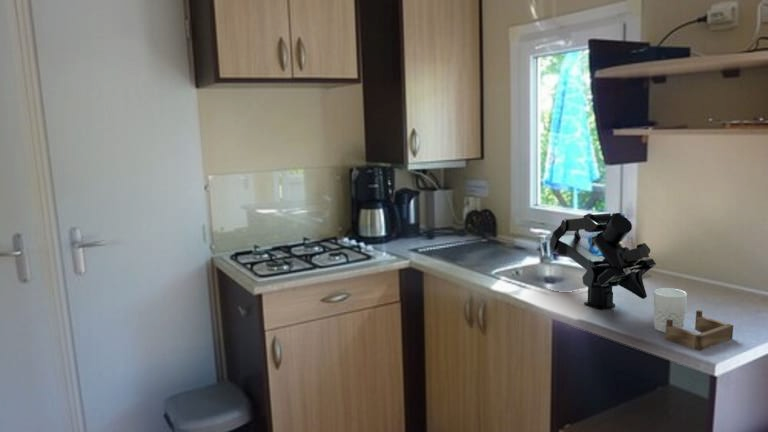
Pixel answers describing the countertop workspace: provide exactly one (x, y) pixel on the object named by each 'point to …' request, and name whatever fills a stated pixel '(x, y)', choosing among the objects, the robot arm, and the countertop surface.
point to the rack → (711, 336)
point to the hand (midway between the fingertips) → (645, 298)
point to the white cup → (669, 307)
